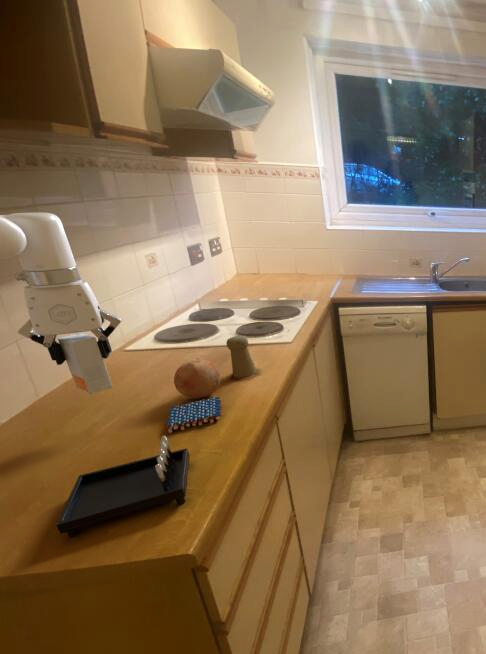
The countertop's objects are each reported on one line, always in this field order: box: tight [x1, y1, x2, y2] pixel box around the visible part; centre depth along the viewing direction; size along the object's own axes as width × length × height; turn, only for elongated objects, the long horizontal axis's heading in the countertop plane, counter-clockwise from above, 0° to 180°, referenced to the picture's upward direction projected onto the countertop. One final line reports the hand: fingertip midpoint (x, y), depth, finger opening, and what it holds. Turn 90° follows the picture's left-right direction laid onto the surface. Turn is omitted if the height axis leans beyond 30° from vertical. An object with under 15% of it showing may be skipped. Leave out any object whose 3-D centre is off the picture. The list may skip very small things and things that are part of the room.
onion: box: [173, 358, 221, 400], centre depth 110 cm, size 10×10×10 cm
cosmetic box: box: [57, 332, 114, 395], centre depth 94 cm, size 6×4×12 cm
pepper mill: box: [226, 335, 258, 378], centre depth 123 cm, size 6×6×11 cm
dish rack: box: [55, 435, 190, 538], centre depth 76 cm, size 16×14×8 cm
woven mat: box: [165, 396, 222, 434], centre depth 102 cm, size 10×11×2 cm
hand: (84, 358), depth 93 cm, fingers closed on cosmetic box, 6 cm apart
